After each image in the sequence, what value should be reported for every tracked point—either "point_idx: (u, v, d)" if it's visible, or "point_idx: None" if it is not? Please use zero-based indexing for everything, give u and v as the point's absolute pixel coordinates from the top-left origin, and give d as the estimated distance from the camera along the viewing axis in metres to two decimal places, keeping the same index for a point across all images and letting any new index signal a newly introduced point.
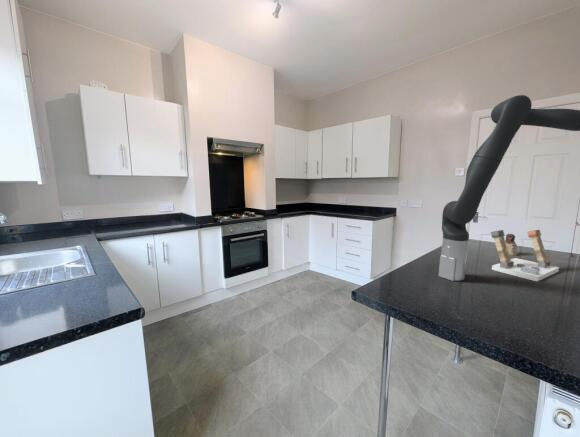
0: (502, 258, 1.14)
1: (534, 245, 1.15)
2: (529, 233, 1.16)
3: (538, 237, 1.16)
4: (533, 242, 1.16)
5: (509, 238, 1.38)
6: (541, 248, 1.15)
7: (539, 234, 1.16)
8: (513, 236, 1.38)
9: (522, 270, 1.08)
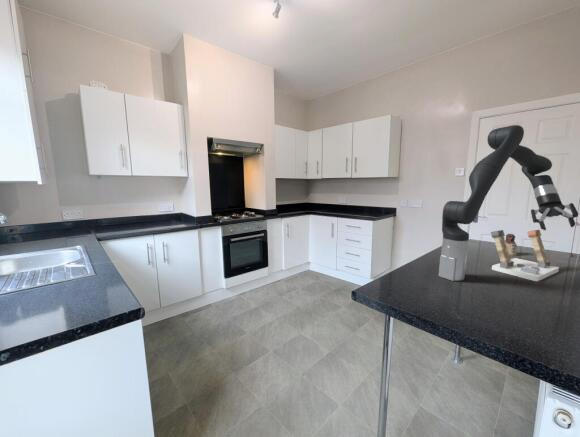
0: (502, 258, 1.14)
1: (534, 245, 1.15)
2: (529, 233, 1.16)
3: (538, 237, 1.16)
4: (533, 242, 1.16)
5: (509, 238, 1.38)
6: (541, 248, 1.15)
7: (539, 234, 1.16)
8: (513, 236, 1.38)
9: (522, 270, 1.08)
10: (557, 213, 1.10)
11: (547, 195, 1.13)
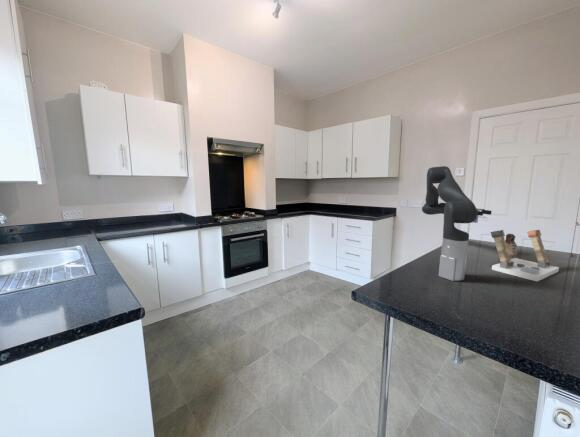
0: (502, 258, 1.14)
1: (534, 245, 1.15)
2: (529, 233, 1.16)
3: (538, 237, 1.16)
4: (533, 242, 1.16)
5: (509, 238, 1.38)
6: (541, 248, 1.15)
7: (539, 234, 1.16)
8: (513, 236, 1.38)
9: (522, 270, 1.08)
10: None
11: None
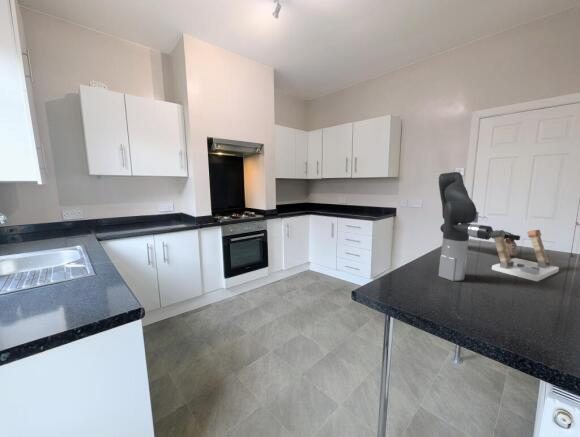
0: (502, 258, 1.14)
1: (534, 245, 1.15)
2: (529, 233, 1.16)
3: (538, 237, 1.16)
4: (533, 242, 1.16)
5: None
6: (541, 248, 1.15)
7: (539, 234, 1.16)
8: None
9: (522, 270, 1.08)
10: None
11: (482, 225, 1.35)
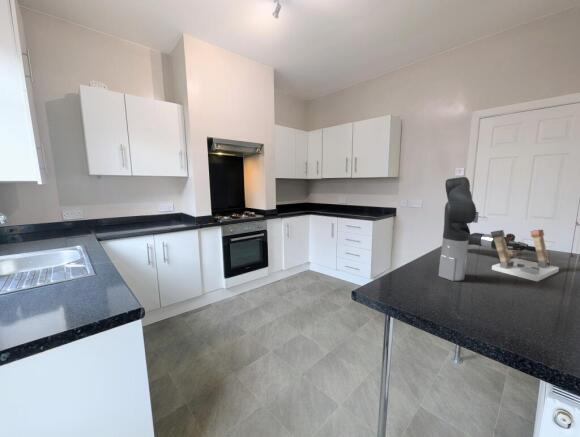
0: (502, 258, 1.14)
1: (536, 245, 1.15)
2: (532, 233, 1.15)
3: (541, 237, 1.15)
4: (535, 242, 1.15)
5: (509, 238, 1.38)
6: (543, 248, 1.14)
7: (542, 234, 1.15)
8: (513, 236, 1.38)
9: (522, 270, 1.08)
10: None
11: None
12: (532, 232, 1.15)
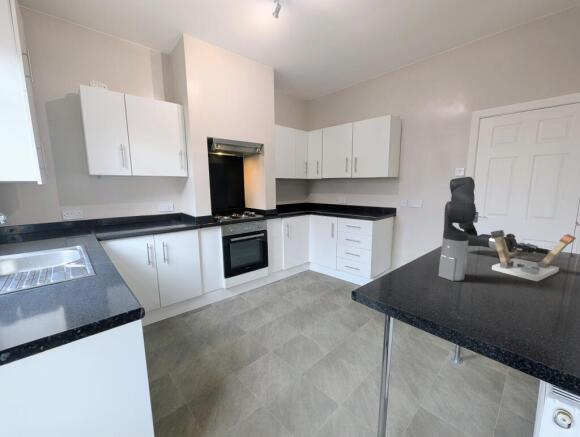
0: (502, 258, 1.14)
1: (555, 248, 1.09)
2: (564, 238, 1.06)
3: (567, 244, 1.08)
4: (557, 246, 1.09)
5: None
6: (558, 253, 1.10)
7: (570, 242, 1.07)
8: (513, 236, 1.38)
9: (522, 270, 1.08)
10: None
11: (505, 237, 1.27)
12: (564, 237, 1.06)
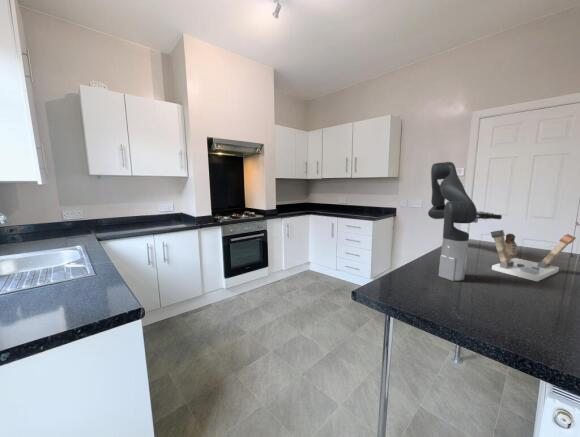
0: (502, 258, 1.14)
1: (555, 248, 1.09)
2: (564, 238, 1.06)
3: (567, 244, 1.08)
4: (557, 246, 1.09)
5: (509, 238, 1.38)
6: (558, 253, 1.10)
7: (570, 242, 1.07)
8: (513, 236, 1.38)
9: (522, 270, 1.08)
10: None
11: None
12: (564, 237, 1.06)
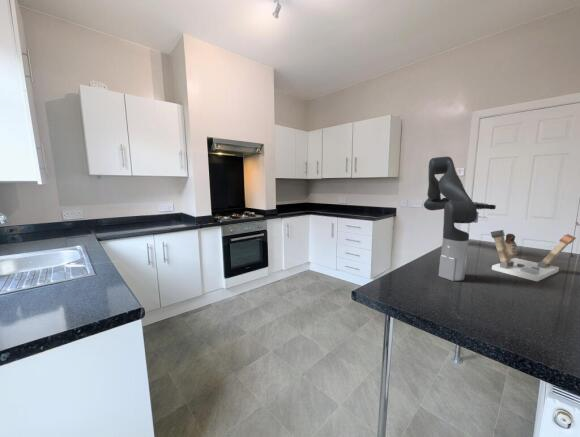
0: (502, 258, 1.14)
1: (555, 248, 1.09)
2: (564, 238, 1.06)
3: (567, 244, 1.08)
4: (557, 246, 1.09)
5: (509, 238, 1.38)
6: (558, 253, 1.10)
7: (570, 242, 1.07)
8: (513, 236, 1.38)
9: (522, 270, 1.08)
10: None
11: None
12: (564, 237, 1.06)
